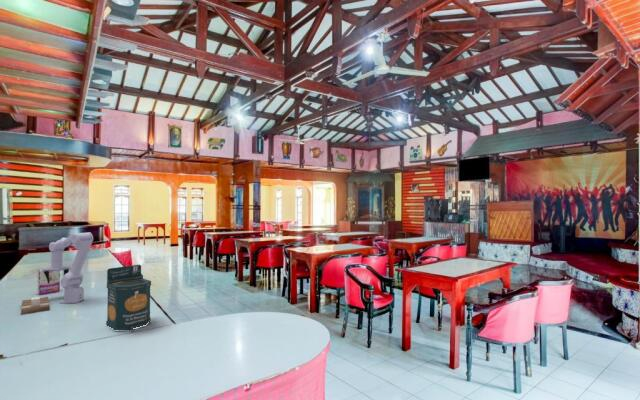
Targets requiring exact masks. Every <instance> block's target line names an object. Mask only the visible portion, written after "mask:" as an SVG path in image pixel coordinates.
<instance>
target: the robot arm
mask: <svg viewBox="0 0 640 400" xmlns="http://www.w3.org/2000/svg"><path fill="white" fill-rule="evenodd" d="M93 241H94V235H93V234H92V232H89V231H88V232H78V233H77V232H73V233H71V234H70V236H68V237H61V238H60V239H58V240H56V241H52V242H51V241H50V243H49V245H48V249H49V251H50V253H51V254H50V267H47V268H41V269H42V272H44V274H45V276H46V278H47V281H48V283H49V272H50V271H60V272H61V271H63V276H62V278H60V279H61V280H60V286H61V287H62V288H63V292H64V294H63V296H64V297H63V298H64V299H63V300H62V301H60V304H77V303H79V302H82V301H84V300H85V298H84V297H85V290H84V287H82V286H81V284H83V281H84V280H83V278H84V275H83V273H82V272H81V271H82V269H83V267H84V264H85V261H86V259H87V257H88V253H89V251H90V248H91V246H92V244H93ZM71 243H72V245H73V247H74V249H76V250H77V251H76V254H75V257H74V259H73V261H72V264H71V266H70V265H69V266H63V254H64V252H65V251H64V250H65V248H68V247H69V246H71ZM59 269H60V270H59Z"/></svg>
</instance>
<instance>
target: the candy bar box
mask: <svg viewBox="0 0 640 400" xmlns="http://www.w3.org/2000/svg"><path fill="white" fill-rule="evenodd" d="M42 269H43V268H41V269H37V295H38V296H43V295H48V294H49V295H50V294H54V293H55V294H56V293H60V291H61V287H60V286H61V280H60V279H61V276H60V275H61V269H59V270H60V271H50V272H49V283H48V281H47V278H46V276H45V274H44V272H42Z"/></svg>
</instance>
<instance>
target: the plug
mask: <svg viewBox="0 0 640 400" xmlns="http://www.w3.org/2000/svg"><path fill="white" fill-rule="evenodd" d="M40 298H41V297H40V296H35V297H31V298H30V299H31V307H34V306H40Z"/></svg>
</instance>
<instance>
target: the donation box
mask: <svg viewBox="0 0 640 400" xmlns="http://www.w3.org/2000/svg"><path fill="white" fill-rule="evenodd" d="M106 273H107V274H106V277H107V278H106V289H107V308H106V309H107V310H106V311H107V316H106V317H107V319H106V321H105V325H107V326H106V327H108V326H109V327H111V328H113V329H114V330H131V329H133V328H136V327H140V326H143V325H146V324H147V323H148V322H150V321H152V319H151V286H152V281H151V280H149V279H146V278H144V275H143V273H142V265H141V264H134V265H133V264H132V265H127V266H119V267H112V268H111V267H110V268H108V269H107V270H106ZM150 323H151V322H150ZM109 327H108V328H109ZM111 328H110V329H111ZM114 330H113V331H114ZM131 331H132V330H131Z"/></svg>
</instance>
